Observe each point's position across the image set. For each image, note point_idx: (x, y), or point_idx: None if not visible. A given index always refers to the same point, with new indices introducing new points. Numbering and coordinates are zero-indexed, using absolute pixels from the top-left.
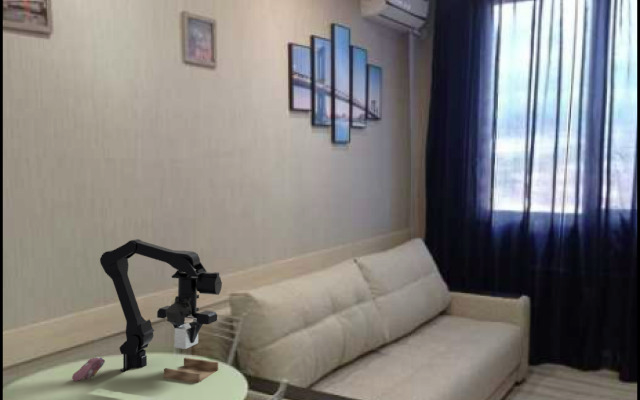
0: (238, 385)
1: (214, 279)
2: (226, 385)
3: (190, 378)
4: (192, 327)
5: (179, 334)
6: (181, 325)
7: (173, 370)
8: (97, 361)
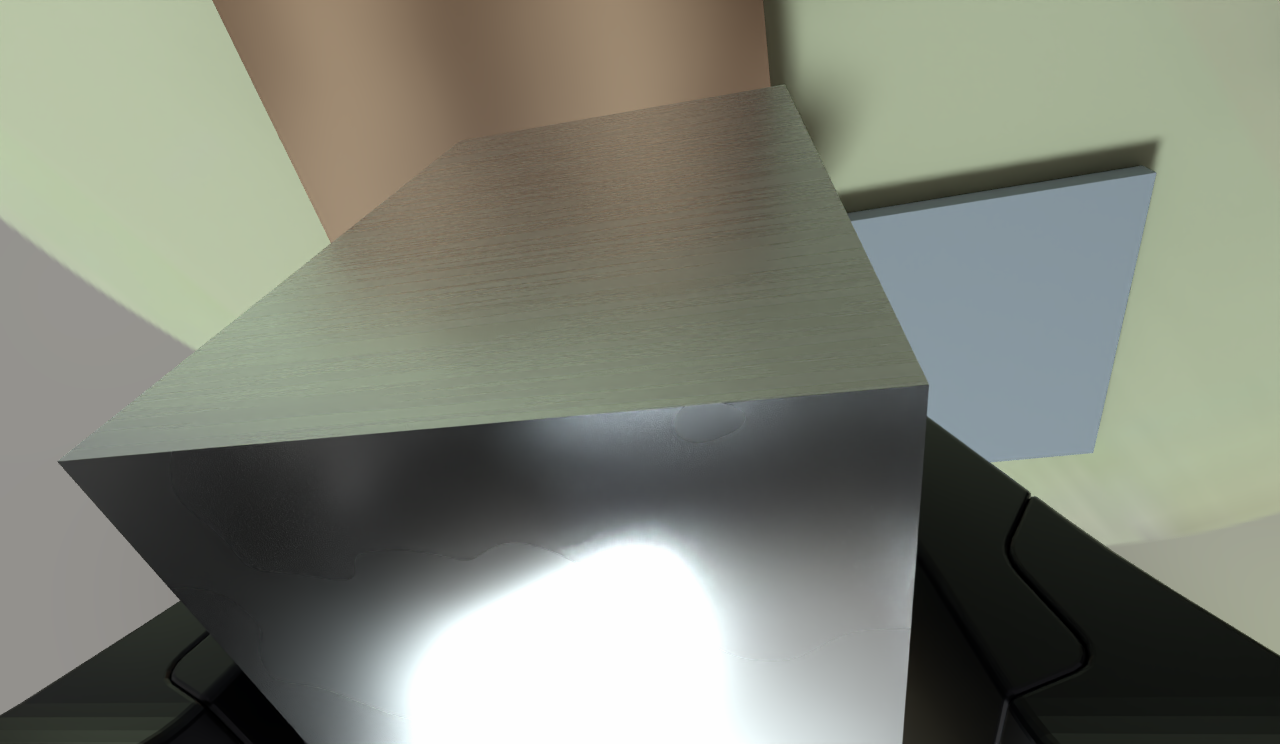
0: (24, 205)
1: None
2: (85, 140)
3: None
4: (78, 740)
5: (581, 256)
6: None
7: None
8: None
